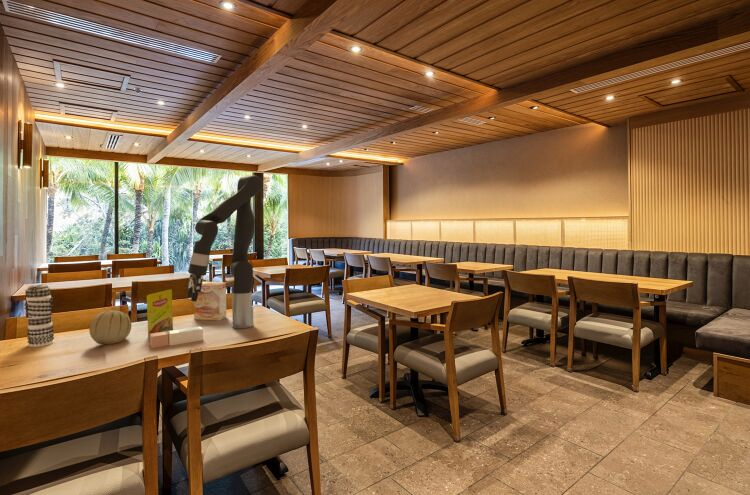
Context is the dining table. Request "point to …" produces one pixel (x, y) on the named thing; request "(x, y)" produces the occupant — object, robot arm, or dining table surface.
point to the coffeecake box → (211, 301)
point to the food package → (159, 312)
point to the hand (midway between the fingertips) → (191, 299)
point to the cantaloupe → (110, 327)
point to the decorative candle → (39, 316)
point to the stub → (159, 339)
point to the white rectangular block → (185, 335)
